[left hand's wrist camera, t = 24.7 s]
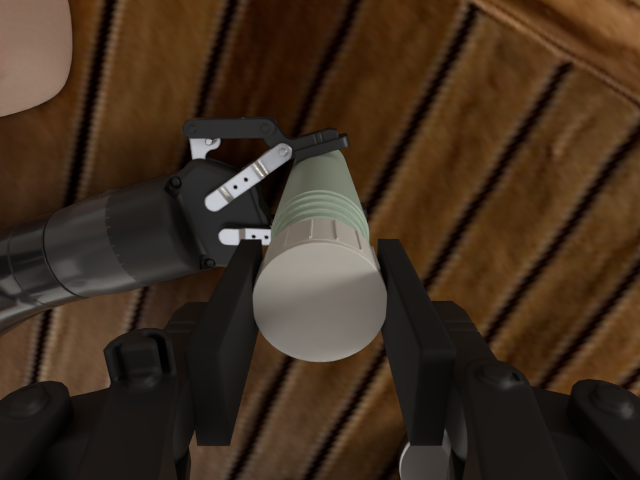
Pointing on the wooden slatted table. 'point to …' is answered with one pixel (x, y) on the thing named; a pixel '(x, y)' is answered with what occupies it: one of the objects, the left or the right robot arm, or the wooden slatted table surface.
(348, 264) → the cap
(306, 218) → the bottle
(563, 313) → the wooden slatted table surface
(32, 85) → the anatomical model
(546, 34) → the wooden slatted table surface
